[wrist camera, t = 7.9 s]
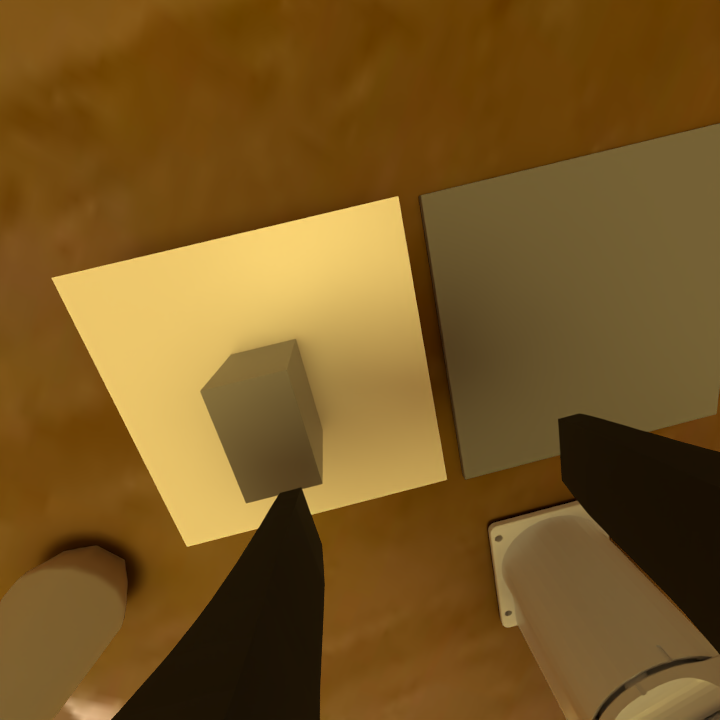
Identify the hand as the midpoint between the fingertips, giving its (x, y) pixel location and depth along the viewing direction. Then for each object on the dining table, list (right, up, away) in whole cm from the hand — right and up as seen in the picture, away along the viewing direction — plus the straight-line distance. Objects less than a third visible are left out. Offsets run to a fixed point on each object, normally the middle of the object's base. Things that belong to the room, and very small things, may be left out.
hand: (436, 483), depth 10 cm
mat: (+10, +6, +10) cm, 15 cm away
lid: (-5, +2, +5) cm, 8 cm away
